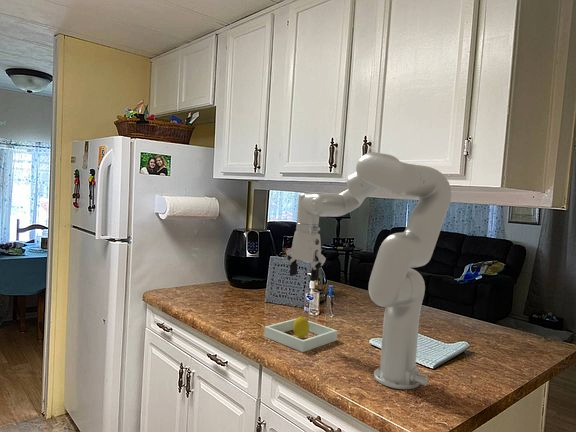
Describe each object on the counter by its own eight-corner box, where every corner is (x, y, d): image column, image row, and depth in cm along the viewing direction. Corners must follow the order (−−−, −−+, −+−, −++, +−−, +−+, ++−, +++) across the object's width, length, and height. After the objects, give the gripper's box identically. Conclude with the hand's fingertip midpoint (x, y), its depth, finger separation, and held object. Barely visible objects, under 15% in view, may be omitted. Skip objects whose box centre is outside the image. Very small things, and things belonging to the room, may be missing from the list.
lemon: (295, 341, 146) (296, 318, 145) (290, 335, 151) (292, 313, 150) (310, 340, 147) (311, 318, 147) (305, 335, 152) (306, 313, 152)
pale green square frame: (336, 340, 149) (337, 330, 149) (302, 352, 136) (303, 341, 136) (298, 326, 162) (299, 317, 161) (264, 336, 149) (264, 326, 148)
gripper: (333, 231, 144) (329, 281, 145) (296, 225, 155) (292, 272, 157) (319, 232, 138) (315, 284, 139) (281, 226, 150) (278, 274, 151)
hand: (303, 277), depth 148 cm, fingers open, 9 cm apart
